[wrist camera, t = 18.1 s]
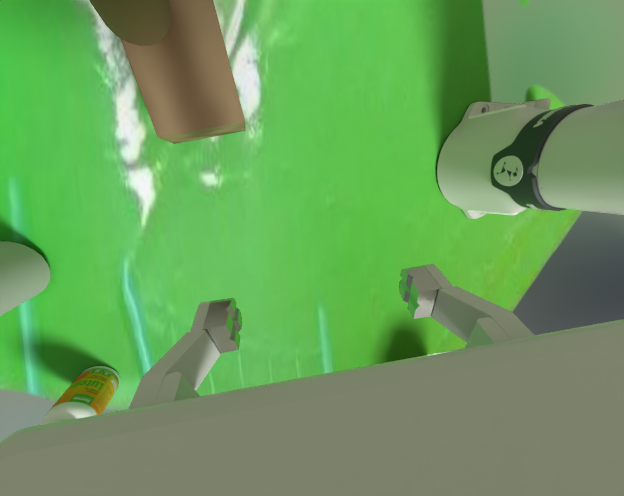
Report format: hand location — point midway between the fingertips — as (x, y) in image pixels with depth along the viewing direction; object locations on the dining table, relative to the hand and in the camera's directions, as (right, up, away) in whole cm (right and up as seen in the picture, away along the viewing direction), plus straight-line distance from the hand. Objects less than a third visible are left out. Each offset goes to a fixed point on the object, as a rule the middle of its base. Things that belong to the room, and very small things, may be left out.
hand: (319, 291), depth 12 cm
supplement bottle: (-32, -18, +25) cm, 45 cm away
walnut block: (-15, +23, +17) cm, 33 cm away
